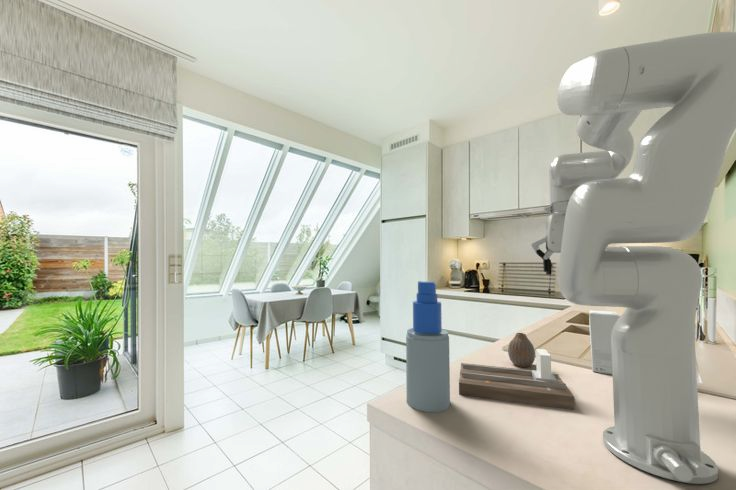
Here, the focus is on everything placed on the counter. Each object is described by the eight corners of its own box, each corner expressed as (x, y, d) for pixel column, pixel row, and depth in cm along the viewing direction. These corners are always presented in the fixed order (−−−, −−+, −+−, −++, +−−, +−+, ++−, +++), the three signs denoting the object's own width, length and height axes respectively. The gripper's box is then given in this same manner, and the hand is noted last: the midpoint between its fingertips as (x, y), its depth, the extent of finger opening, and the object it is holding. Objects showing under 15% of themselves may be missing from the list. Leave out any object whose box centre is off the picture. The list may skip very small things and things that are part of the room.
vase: (536, 363, 89) (535, 332, 89) (534, 370, 83) (533, 337, 83) (510, 359, 92) (509, 329, 93) (506, 366, 87) (505, 334, 87)
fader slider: (557, 385, 66) (556, 356, 67) (536, 383, 67) (535, 354, 68) (551, 377, 71) (550, 350, 71) (531, 375, 72) (531, 348, 73)
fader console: (574, 409, 61) (574, 391, 61) (459, 394, 68) (458, 377, 68) (556, 383, 74) (556, 368, 75) (461, 372, 81) (461, 359, 82)
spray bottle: (398, 404, 63) (398, 281, 65) (418, 389, 71) (417, 279, 72) (439, 416, 58) (438, 283, 60) (456, 399, 66) (454, 281, 67)
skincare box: (622, 377, 78) (619, 315, 79) (590, 371, 82) (588, 312, 83) (620, 368, 85) (618, 311, 86) (591, 363, 89) (589, 308, 90)
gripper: (533, 209, 81) (535, 274, 80) (612, 205, 76) (615, 275, 75) (528, 214, 89) (530, 274, 87) (600, 210, 83) (603, 275, 82)
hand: (569, 274), depth 81 cm, fingers open, 9 cm apart
